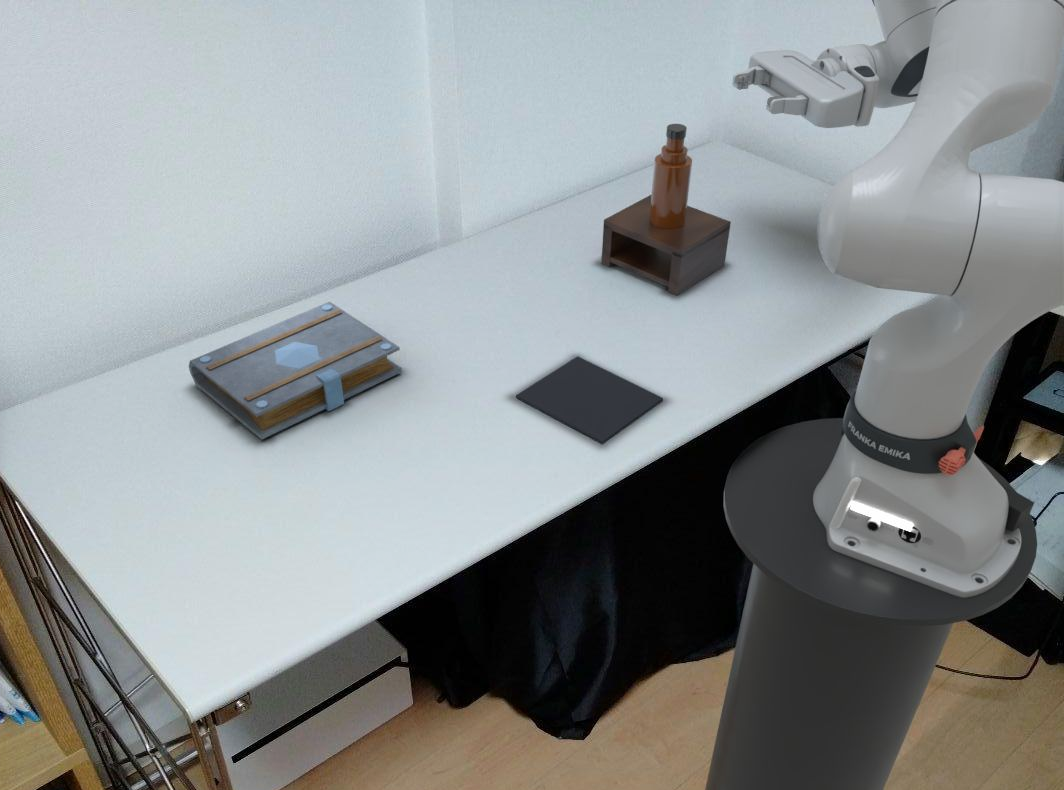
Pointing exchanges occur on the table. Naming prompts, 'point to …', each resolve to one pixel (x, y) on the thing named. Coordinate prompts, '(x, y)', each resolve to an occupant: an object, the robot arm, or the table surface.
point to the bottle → (671, 181)
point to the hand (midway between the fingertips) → (751, 93)
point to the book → (295, 368)
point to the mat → (589, 399)
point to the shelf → (665, 246)
